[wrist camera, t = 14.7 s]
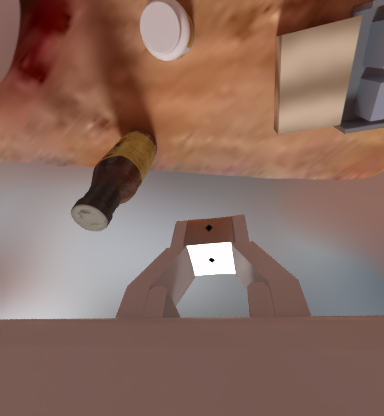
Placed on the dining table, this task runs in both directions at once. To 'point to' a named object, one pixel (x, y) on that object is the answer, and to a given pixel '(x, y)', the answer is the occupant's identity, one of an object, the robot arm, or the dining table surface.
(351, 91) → the tray
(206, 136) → the dining table surface
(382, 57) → the tile
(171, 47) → the supplement bottle
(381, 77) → the tile
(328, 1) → the dining table surface
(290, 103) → the board
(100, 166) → the sauce bottle
